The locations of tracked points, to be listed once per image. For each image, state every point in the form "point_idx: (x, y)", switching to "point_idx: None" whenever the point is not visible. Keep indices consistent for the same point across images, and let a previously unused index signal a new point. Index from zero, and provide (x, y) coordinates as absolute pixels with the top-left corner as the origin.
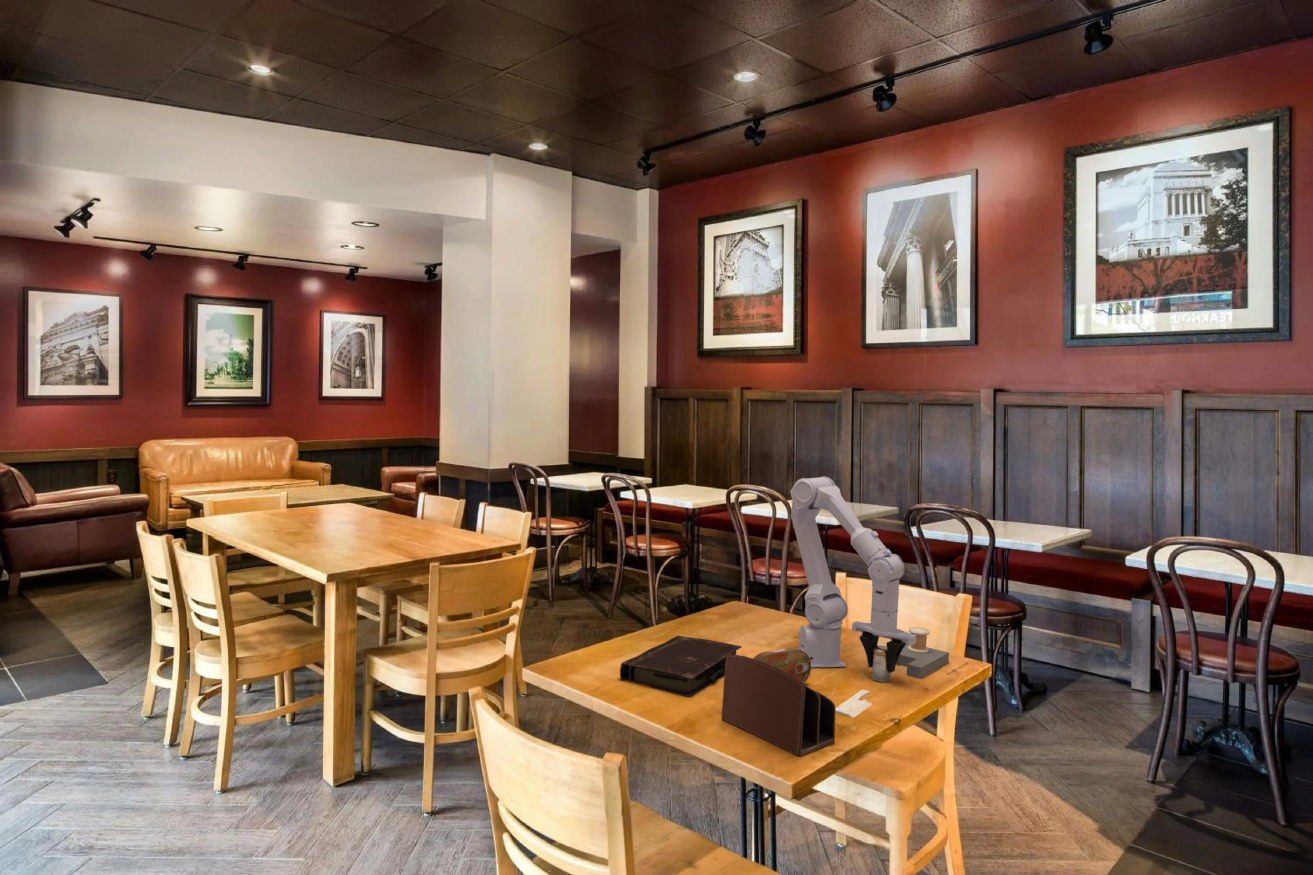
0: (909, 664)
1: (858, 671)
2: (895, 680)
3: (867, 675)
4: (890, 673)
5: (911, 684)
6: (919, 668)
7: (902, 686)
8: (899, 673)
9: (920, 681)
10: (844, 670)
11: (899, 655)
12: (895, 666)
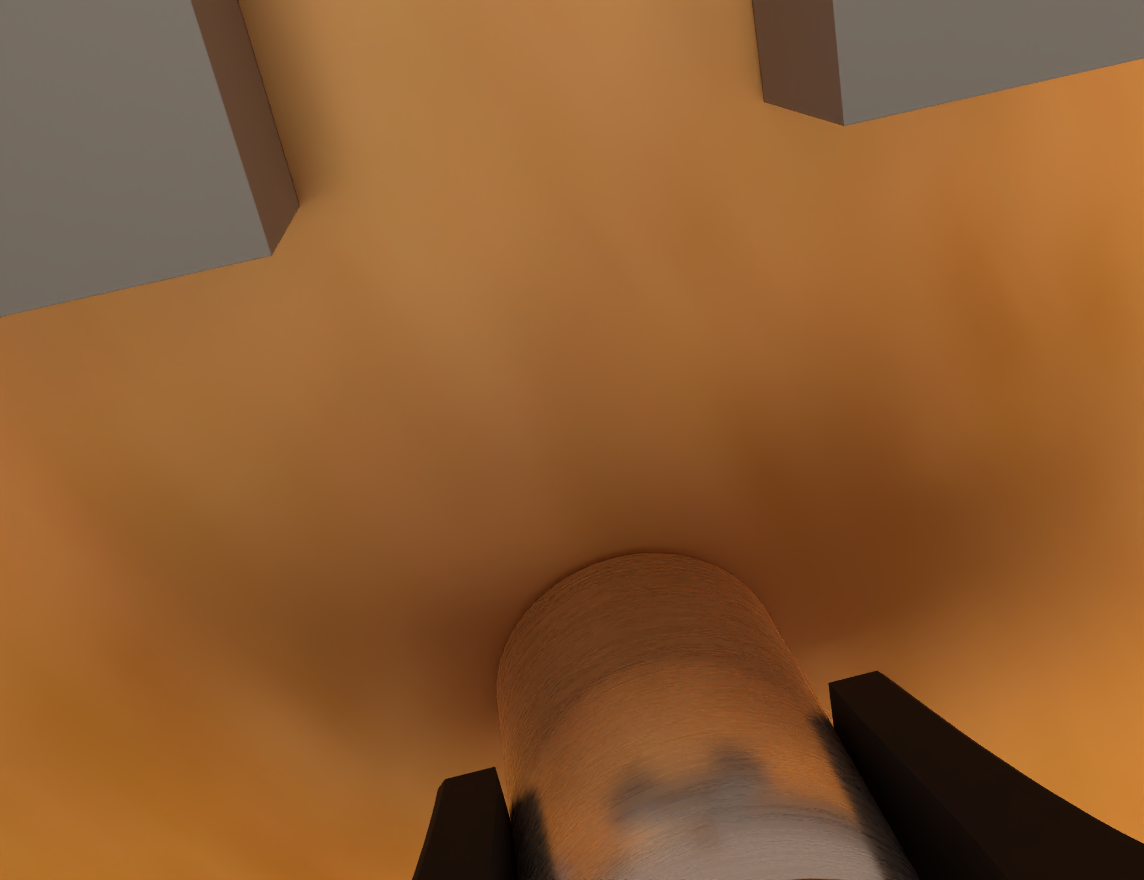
0: (891, 94)
1: (181, 715)
2: (801, 514)
3: (400, 721)
4: (795, 663)
5: (1059, 434)
6: (1129, 59)
7: (1006, 616)
8: (632, 156)
9: (1102, 177)
10: (41, 863)
11: (1125, 835)
12: (930, 712)
